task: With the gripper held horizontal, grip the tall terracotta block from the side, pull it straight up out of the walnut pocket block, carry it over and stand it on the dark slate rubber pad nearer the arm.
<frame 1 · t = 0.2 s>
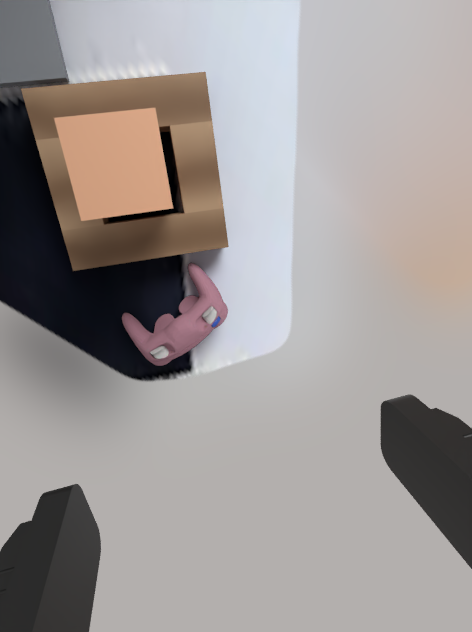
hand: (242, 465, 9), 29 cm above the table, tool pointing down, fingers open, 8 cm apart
terracotta block: (130, 173, 26), in the walnut pocket block
walnut pocket block: (138, 177, 33), on the table
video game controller: (174, 307, 38), on the table
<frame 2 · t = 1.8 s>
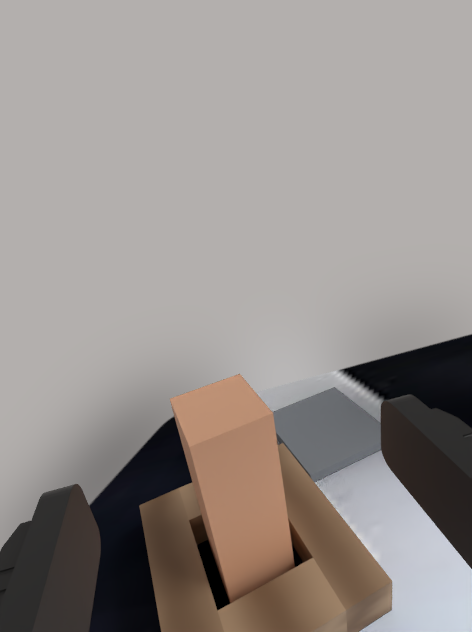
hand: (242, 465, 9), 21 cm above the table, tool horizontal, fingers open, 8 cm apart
slate pad: (324, 431, 39), on the table
terracotta block: (236, 493, 25), in the walnut pocket block
walnut pocket block: (251, 563, 28), on the table
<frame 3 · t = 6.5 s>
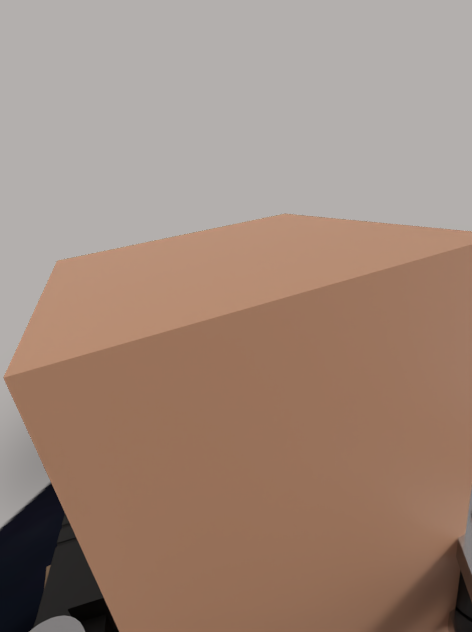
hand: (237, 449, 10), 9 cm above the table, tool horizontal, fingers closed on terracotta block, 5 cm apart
terracotta block: (273, 572, 8), in the walnut pocket block, touching gripper
when the fingers open (11 cm above the table, at t = 12.5 s): terracotta block drops 1 cm, resting on slate pad.
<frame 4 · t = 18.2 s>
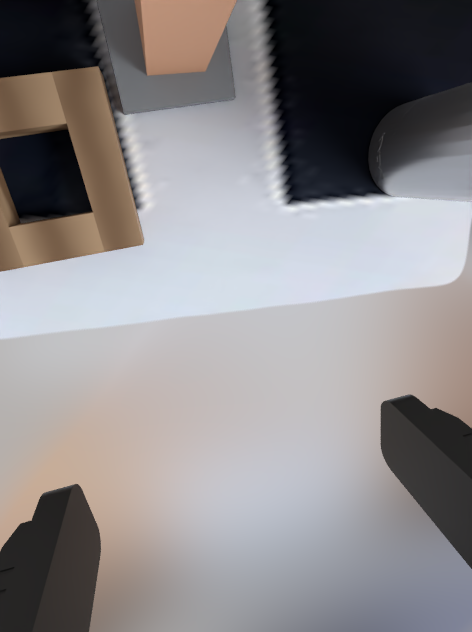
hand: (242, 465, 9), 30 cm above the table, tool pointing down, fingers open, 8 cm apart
slate pad: (167, 40, 31), on the table
walnut pocket block: (47, 177, 32), on the table
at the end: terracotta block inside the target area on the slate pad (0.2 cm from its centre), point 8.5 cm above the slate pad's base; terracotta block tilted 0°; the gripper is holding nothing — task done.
